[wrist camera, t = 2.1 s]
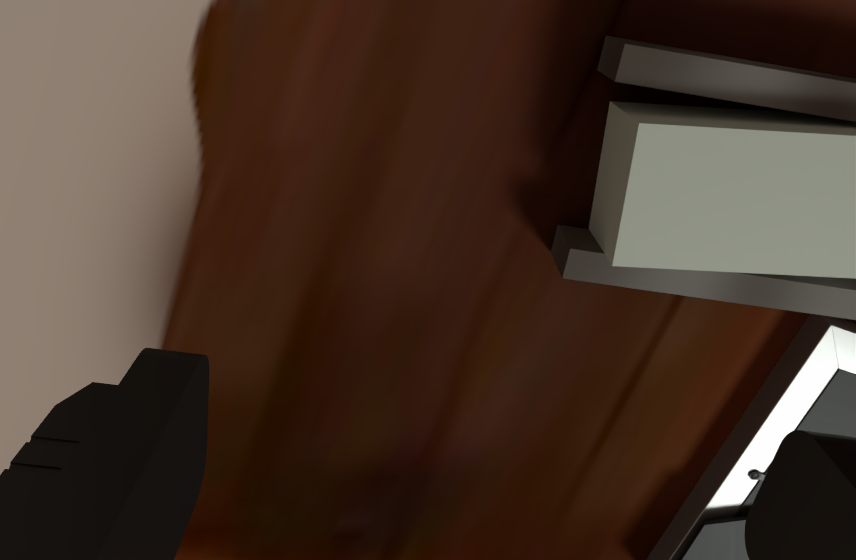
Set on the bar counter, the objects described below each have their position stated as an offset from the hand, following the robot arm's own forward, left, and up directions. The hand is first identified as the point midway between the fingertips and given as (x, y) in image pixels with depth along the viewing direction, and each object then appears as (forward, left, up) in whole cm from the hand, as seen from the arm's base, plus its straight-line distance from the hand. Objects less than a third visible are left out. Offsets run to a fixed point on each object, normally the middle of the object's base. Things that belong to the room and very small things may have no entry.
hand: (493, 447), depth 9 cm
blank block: (-11, 0, -19) cm, 22 cm away
